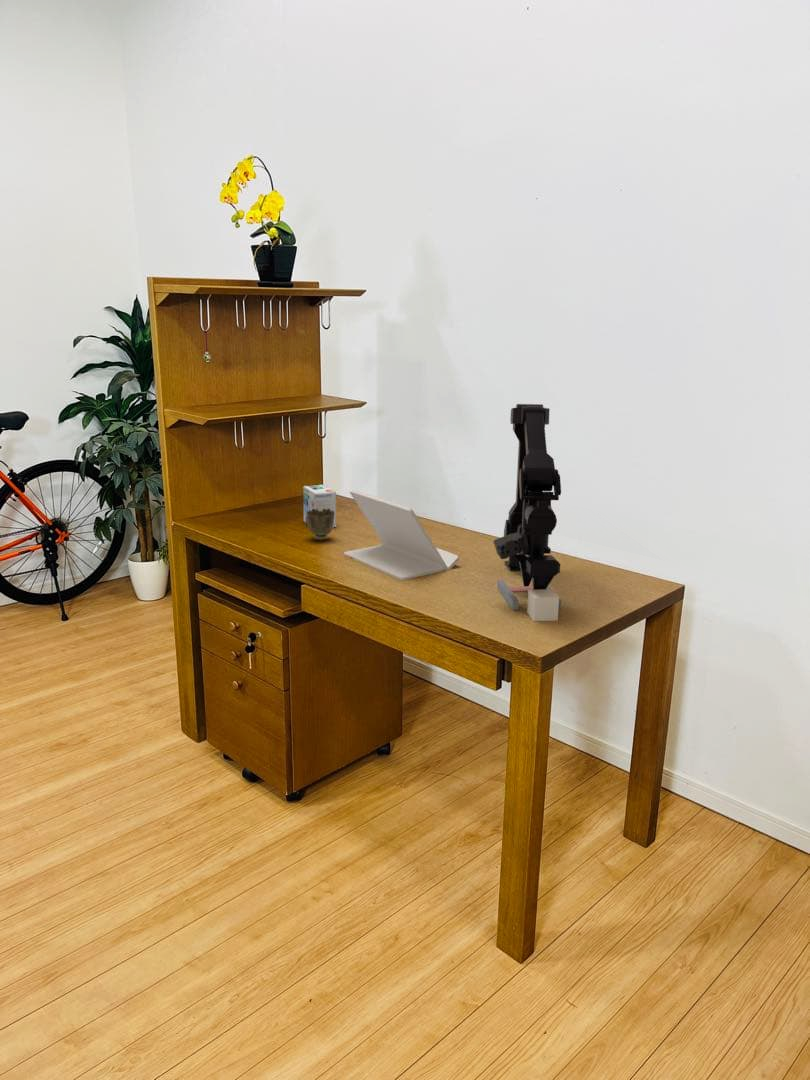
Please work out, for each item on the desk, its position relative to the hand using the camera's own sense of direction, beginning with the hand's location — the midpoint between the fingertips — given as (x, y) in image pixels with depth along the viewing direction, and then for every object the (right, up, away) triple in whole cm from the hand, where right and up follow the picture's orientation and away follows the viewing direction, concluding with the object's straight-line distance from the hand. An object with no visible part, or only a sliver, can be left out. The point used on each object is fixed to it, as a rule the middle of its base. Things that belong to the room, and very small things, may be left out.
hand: (531, 592), depth 176 cm
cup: (-50, +11, +46) cm, 69 cm away
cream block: (+1, -4, -7) cm, 9 cm away
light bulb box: (-52, +16, +61) cm, 82 cm away
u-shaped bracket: (0, -1, +3) cm, 3 cm away
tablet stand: (-28, +6, +29) cm, 41 cm away
